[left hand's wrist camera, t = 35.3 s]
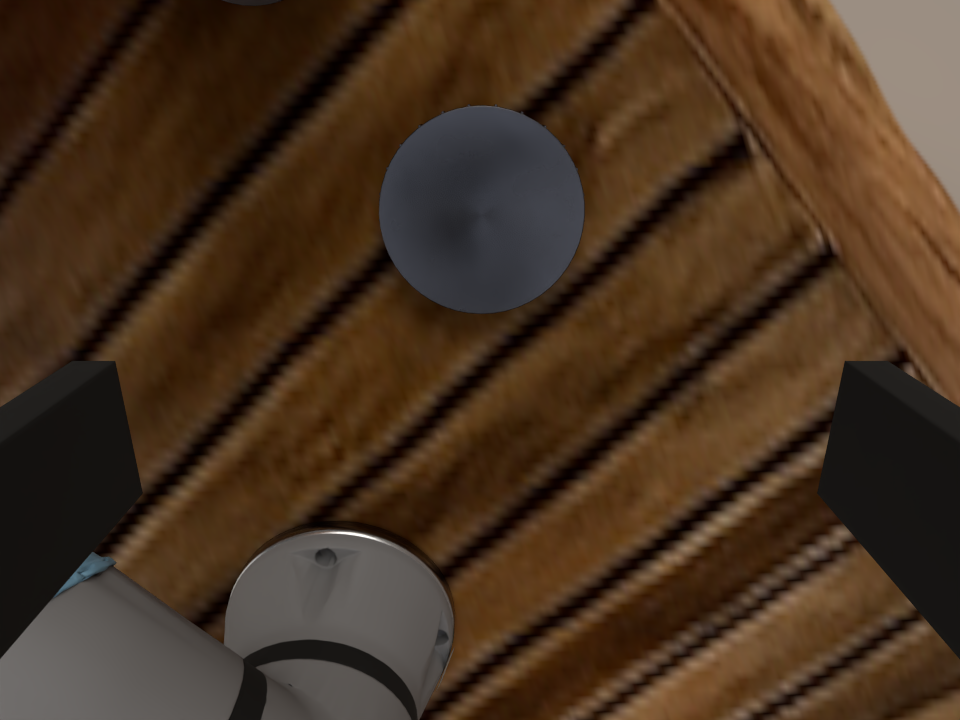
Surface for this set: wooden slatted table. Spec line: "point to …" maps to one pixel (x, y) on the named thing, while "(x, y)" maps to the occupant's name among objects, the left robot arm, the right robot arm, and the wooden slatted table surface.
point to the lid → (481, 209)
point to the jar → (252, 2)
